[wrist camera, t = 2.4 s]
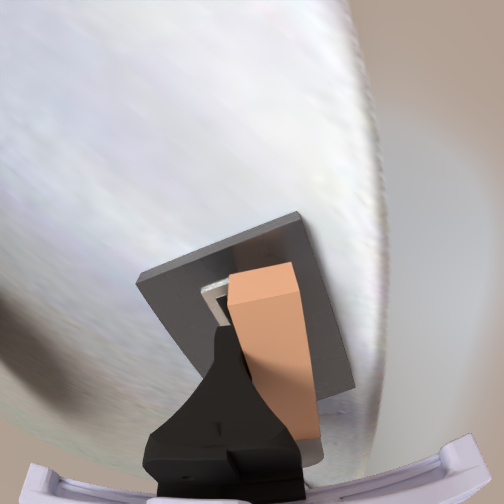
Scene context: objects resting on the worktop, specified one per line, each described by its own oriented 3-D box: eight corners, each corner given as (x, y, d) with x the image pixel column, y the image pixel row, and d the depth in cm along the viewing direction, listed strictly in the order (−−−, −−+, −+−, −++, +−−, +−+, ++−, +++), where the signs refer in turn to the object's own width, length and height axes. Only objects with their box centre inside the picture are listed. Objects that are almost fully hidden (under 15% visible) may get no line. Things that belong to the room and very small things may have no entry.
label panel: (351, 376, 19) (356, 390, 17) (239, 409, 20) (239, 424, 19) (296, 211, 14) (301, 221, 12) (140, 273, 15) (133, 287, 14)
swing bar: (314, 412, 18) (324, 463, 15) (278, 419, 18) (284, 470, 15) (287, 247, 13) (303, 305, 9) (230, 260, 13) (226, 320, 9)
